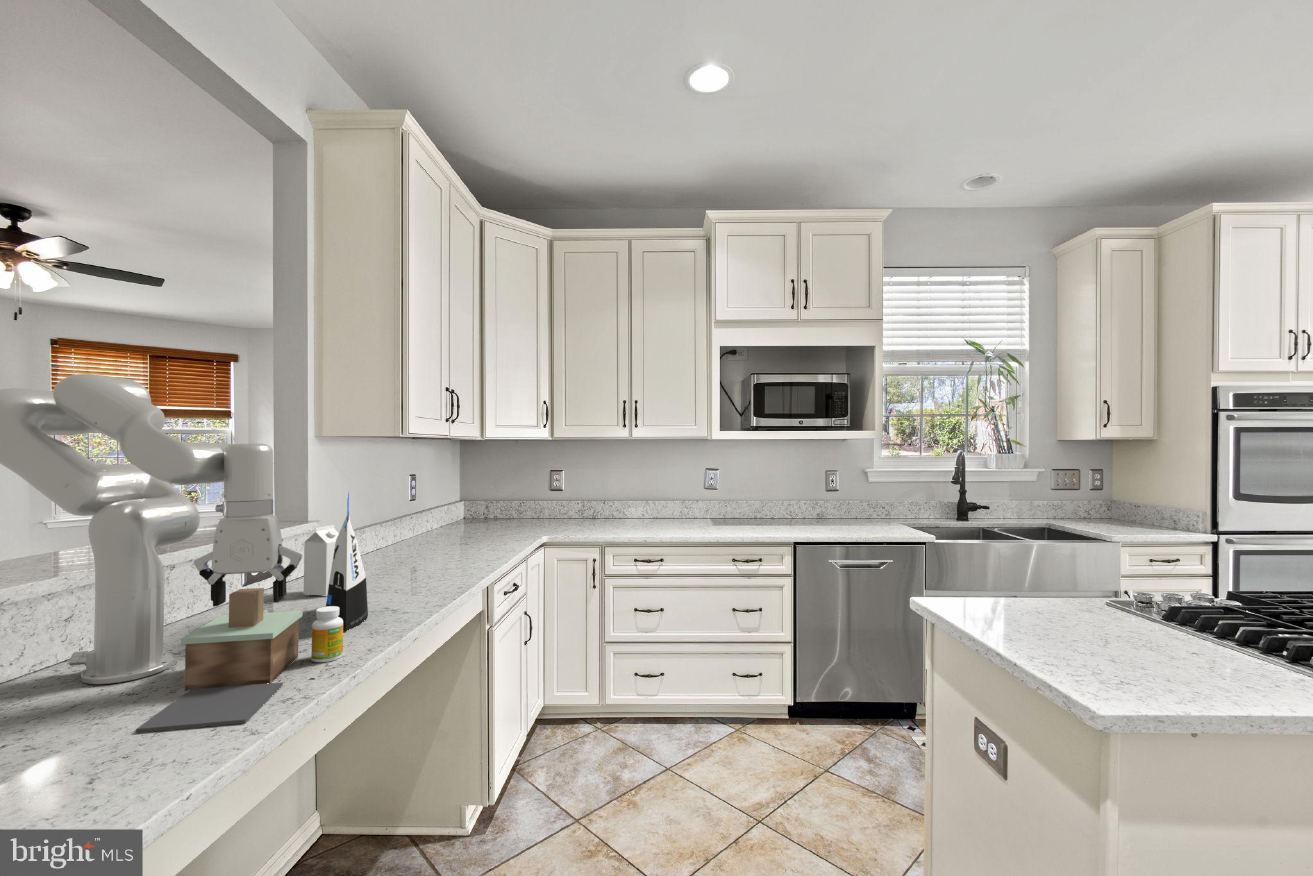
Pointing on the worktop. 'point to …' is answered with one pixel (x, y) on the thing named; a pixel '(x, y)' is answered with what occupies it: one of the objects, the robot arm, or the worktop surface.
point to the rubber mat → (211, 707)
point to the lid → (243, 621)
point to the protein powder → (348, 578)
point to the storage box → (240, 661)
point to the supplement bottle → (327, 635)
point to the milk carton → (319, 560)
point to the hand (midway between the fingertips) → (249, 602)
